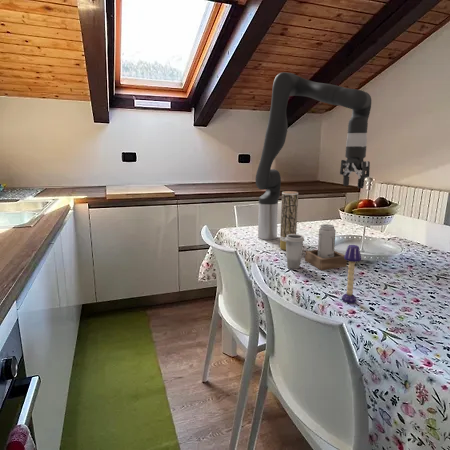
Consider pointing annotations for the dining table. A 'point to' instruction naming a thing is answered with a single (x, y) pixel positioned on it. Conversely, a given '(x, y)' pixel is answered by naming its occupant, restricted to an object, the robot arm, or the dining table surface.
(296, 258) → the cup
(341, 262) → the wooden tray
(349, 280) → the toy lamp
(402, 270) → the dining table surface
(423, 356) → the dining table surface
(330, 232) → the energy drink can
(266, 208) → the robot arm
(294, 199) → the bark patterned cylinder
